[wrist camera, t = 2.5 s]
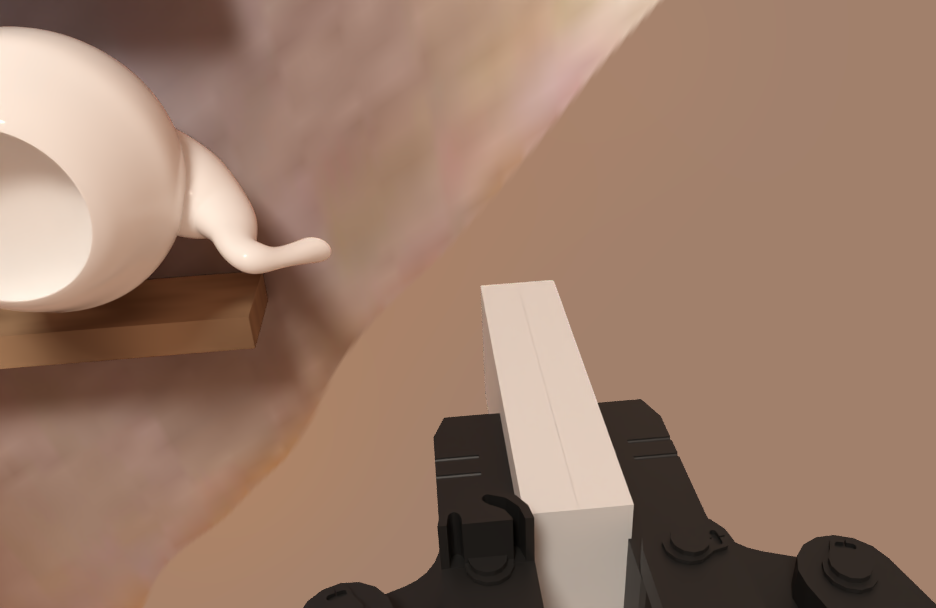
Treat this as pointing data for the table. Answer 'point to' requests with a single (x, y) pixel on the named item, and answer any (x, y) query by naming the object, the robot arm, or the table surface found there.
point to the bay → (142, 323)
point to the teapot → (105, 182)
